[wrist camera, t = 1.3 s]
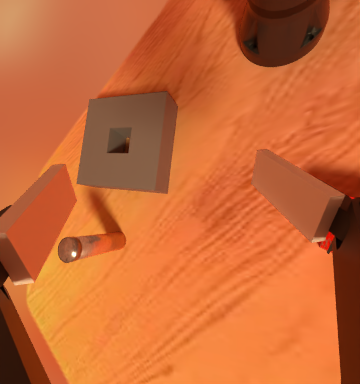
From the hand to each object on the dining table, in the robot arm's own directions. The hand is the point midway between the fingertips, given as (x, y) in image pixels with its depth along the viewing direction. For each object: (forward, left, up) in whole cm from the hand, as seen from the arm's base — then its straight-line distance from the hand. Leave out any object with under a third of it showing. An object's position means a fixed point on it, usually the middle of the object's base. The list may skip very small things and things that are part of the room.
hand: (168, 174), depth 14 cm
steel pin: (+12, -23, -28) cm, 38 cm away
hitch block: (-10, -22, -28) cm, 37 cm away
